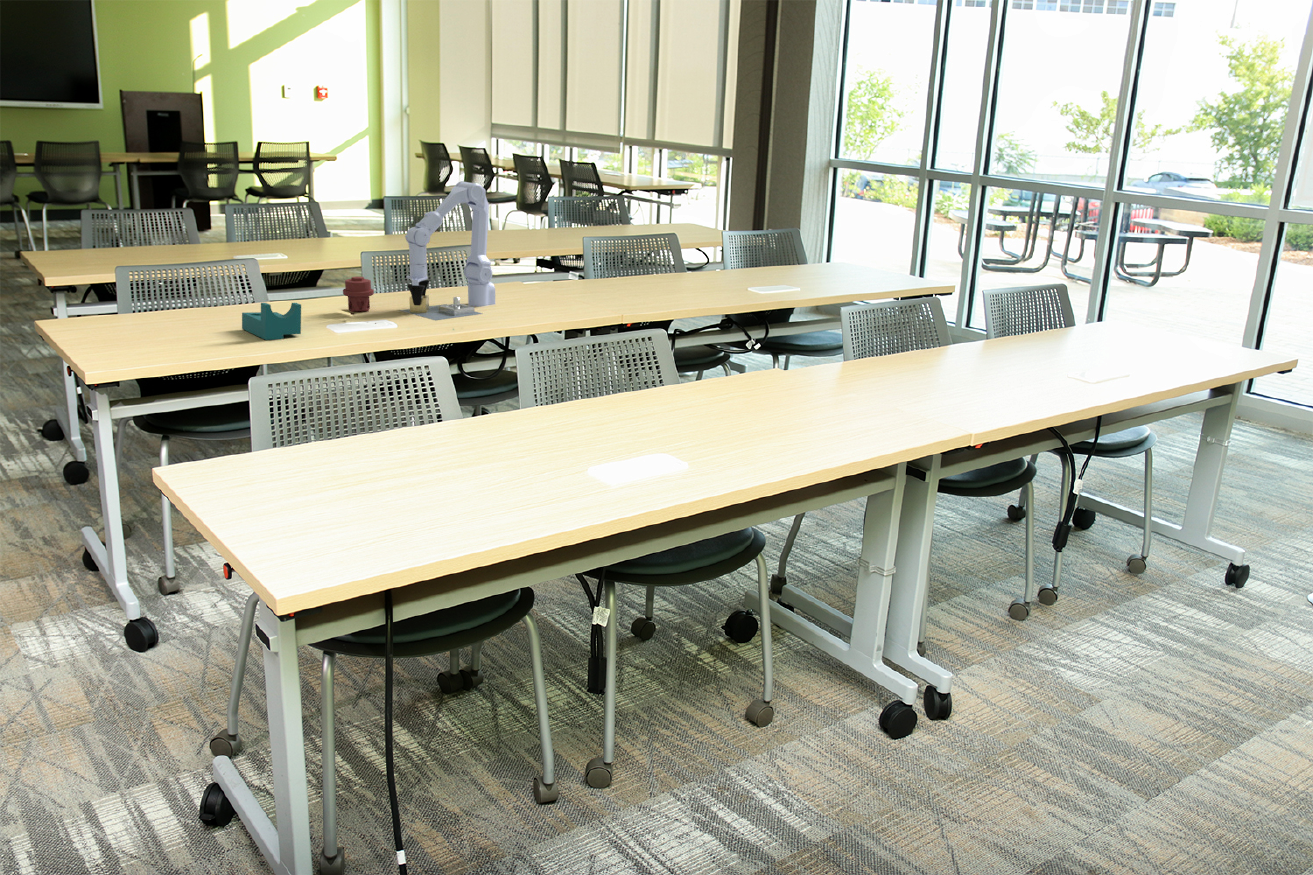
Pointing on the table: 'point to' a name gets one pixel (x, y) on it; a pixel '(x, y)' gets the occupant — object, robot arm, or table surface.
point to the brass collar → (423, 307)
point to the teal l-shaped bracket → (273, 322)
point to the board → (437, 313)
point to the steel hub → (456, 308)
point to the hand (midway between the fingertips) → (419, 303)
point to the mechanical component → (358, 294)
